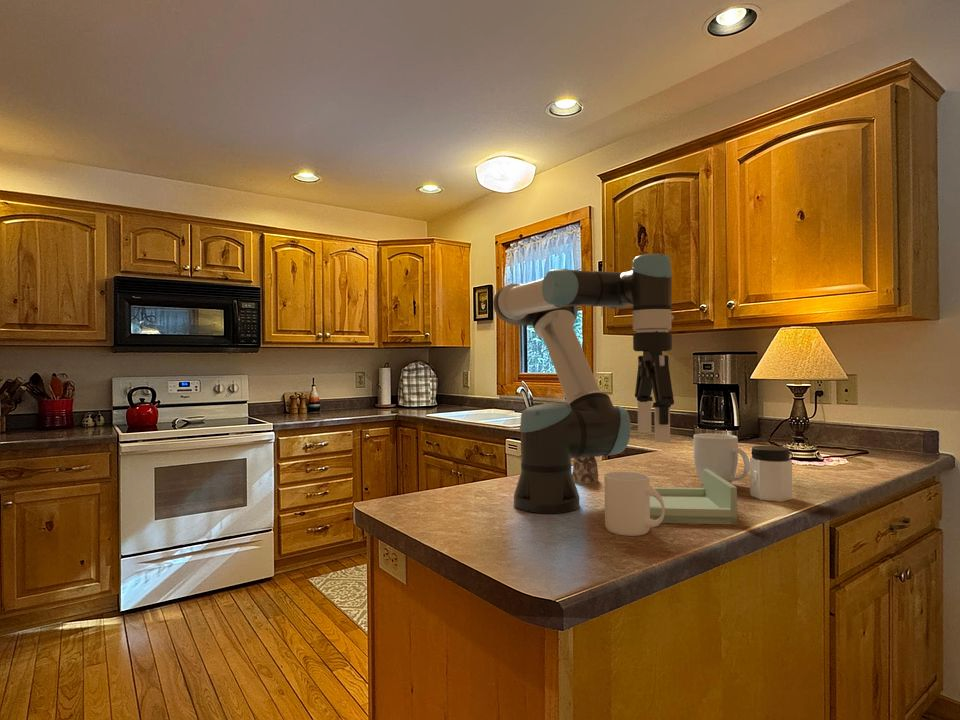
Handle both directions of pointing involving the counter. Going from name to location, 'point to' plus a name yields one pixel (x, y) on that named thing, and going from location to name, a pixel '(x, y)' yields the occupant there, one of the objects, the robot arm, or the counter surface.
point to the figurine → (585, 470)
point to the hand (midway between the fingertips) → (652, 436)
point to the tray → (698, 502)
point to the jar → (771, 473)
